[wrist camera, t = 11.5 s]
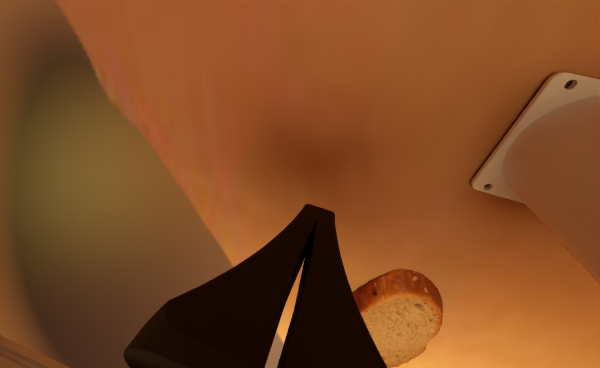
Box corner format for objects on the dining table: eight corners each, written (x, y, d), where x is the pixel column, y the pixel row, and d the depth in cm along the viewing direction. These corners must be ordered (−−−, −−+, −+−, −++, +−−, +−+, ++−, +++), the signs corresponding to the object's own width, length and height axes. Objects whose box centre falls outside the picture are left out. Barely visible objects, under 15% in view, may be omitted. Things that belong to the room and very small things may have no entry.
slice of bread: (433, 263, 23) (443, 298, 20) (455, 359, 30) (464, 396, 27) (279, 274, 30) (268, 300, 27) (326, 348, 37) (322, 376, 34)
